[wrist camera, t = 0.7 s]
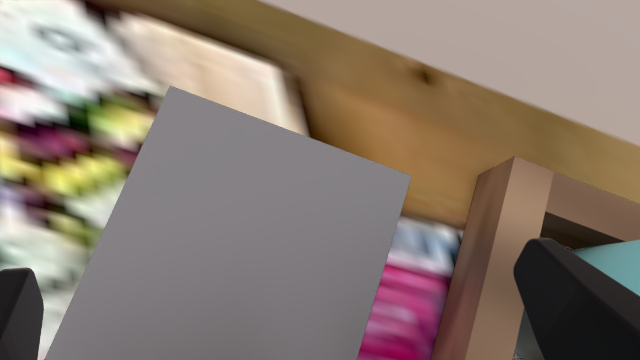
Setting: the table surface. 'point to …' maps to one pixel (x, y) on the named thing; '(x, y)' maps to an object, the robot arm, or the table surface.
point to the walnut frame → (518, 250)
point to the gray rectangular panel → (235, 246)
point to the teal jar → (613, 259)
